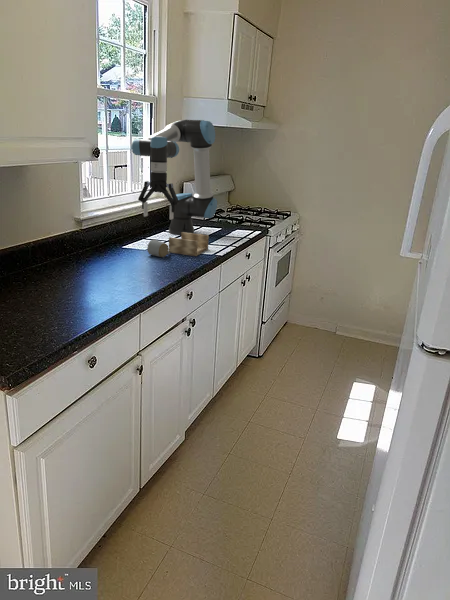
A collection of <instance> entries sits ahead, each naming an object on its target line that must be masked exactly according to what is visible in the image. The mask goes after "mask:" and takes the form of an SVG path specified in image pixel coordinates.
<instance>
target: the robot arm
mask: <svg viewBox="0 0 450 600" xmlns="http://www.w3.org/2000/svg"><path fill="white" fill-rule="evenodd" d="M215 140H216V129H215V126H214V124H213V123H212V122H211V121H210V120H205V119H180V120H177V121H174V122H171V123H170V124H167V125H166V126H165V127H164V129H162V130H159V131H158V132H155V133H154V134H151V135H149V136H147V137H145V138H142V139H141V138H138V139H137V138H135V139H133V141H132V143H131V151H132V153H133V154H134V155H135V156H140V157H150V181H149V180H146V181H144V183H143V188H142V190H141V192H140V193H139V197H138V199H137V200H138V201H139V202H141V209H142V210H143V217H144V218H145V217H148V216H149V214H148V213H149V211H148V210H149V209H148V208H149V207H148V206H149V203H148V199H150V197H151V196H152V195H153V194H154V193H162V194H163V195H164V196H165V198H166V200H167V201H168V202H169V204H170V205H169V220H171V221H170V224H169V227H168V233H169V234H172V235H179V236H181V232H185V233H193V234H195V228H194V224H193V221H192V219H193V218H194V217H195V218H202V219H203V218H204V219H211V218H213V217H214V216H215V213H216V211H217V208H218V200H217V198H215V197H214V193H213V192H212V191H211V169H210V167H211V166H210V165H211V163H210V149H211V148H212V144H214V143H215V142H216V141H215ZM177 142H180V143H189V144H190V148H191V149H192V150H193V165H194V166H193V168H194V186H195V188H194V189H195V190H194V191H195V192H193V193H191V192H185V193H176V191H175V189H174V183H168V182H167V181H168V173H167V171H168V164H167V163H168V159H169V158H170V159H173V158H175V157H177V156H178V155H179V153H180V145H179V144H178V143H177ZM149 187H151V188H150V189H149V190H148V188H149ZM167 188H168V189H167ZM168 190H169V191H168ZM147 191H148V192H147Z"/></svg>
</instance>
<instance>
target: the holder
mask: <svg viewBox="0 0 450 600" xmlns="http://www.w3.org/2000/svg"><path fill="white" fill-rule="evenodd" d="M209 238H210V236H209V235H208V234H200V233H185V232H181V235H180V238H179V237H169V238H168V248H169V250H168V251H170V254H177V255H185V256H193V257H197V256H199V255H201V254H203V253H204V252H207V251H208V250H209Z"/></svg>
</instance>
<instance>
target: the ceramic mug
mask: <svg viewBox="0 0 450 600" xmlns="http://www.w3.org/2000/svg"><path fill="white" fill-rule="evenodd" d="M146 248H147V249H146V250H147V253H148V254H149V255H151V256H154V257H159V258H165V257H166V256H167V255H170V254H171V253H170V251H169V244H167V243H166V242H163V241H160V240H158V239H151V240H150V241H149V242H148V244H147V246H146Z"/></svg>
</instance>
